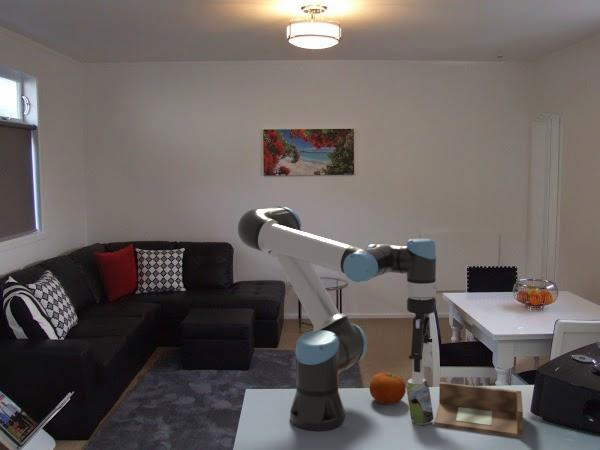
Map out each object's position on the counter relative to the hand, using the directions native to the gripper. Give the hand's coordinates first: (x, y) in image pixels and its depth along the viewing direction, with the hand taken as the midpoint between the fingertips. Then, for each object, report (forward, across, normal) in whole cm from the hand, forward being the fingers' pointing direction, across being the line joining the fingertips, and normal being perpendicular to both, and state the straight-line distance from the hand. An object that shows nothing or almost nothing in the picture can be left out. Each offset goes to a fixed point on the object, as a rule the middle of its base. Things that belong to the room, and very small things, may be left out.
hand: (421, 374), depth 151 cm
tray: (+14, +6, -15) cm, 21 cm away
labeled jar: (+14, 0, 0) cm, 14 cm away
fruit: (+14, +11, +11) cm, 21 cm away
